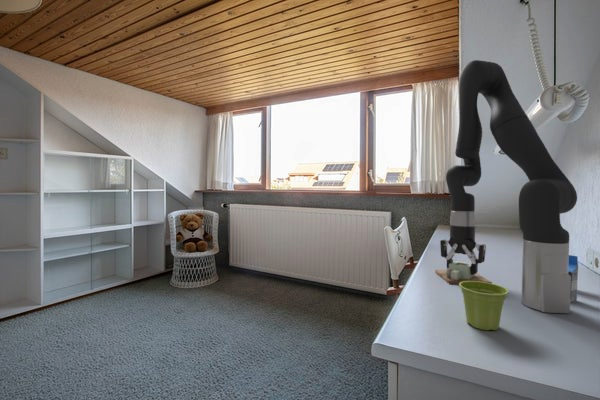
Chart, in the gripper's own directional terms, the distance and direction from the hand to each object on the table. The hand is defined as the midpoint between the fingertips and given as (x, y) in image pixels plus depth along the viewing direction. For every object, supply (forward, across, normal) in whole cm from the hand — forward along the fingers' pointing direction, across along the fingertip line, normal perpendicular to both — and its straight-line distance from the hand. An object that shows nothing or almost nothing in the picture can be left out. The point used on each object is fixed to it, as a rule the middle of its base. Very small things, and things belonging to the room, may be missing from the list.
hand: (461, 272), depth 101 cm
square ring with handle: (+1, 0, -2) cm, 2 cm away
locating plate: (+2, 0, 0) cm, 2 cm away
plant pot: (+2, +17, -33) cm, 37 cm away
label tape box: (+3, +24, +2) cm, 24 cm away
